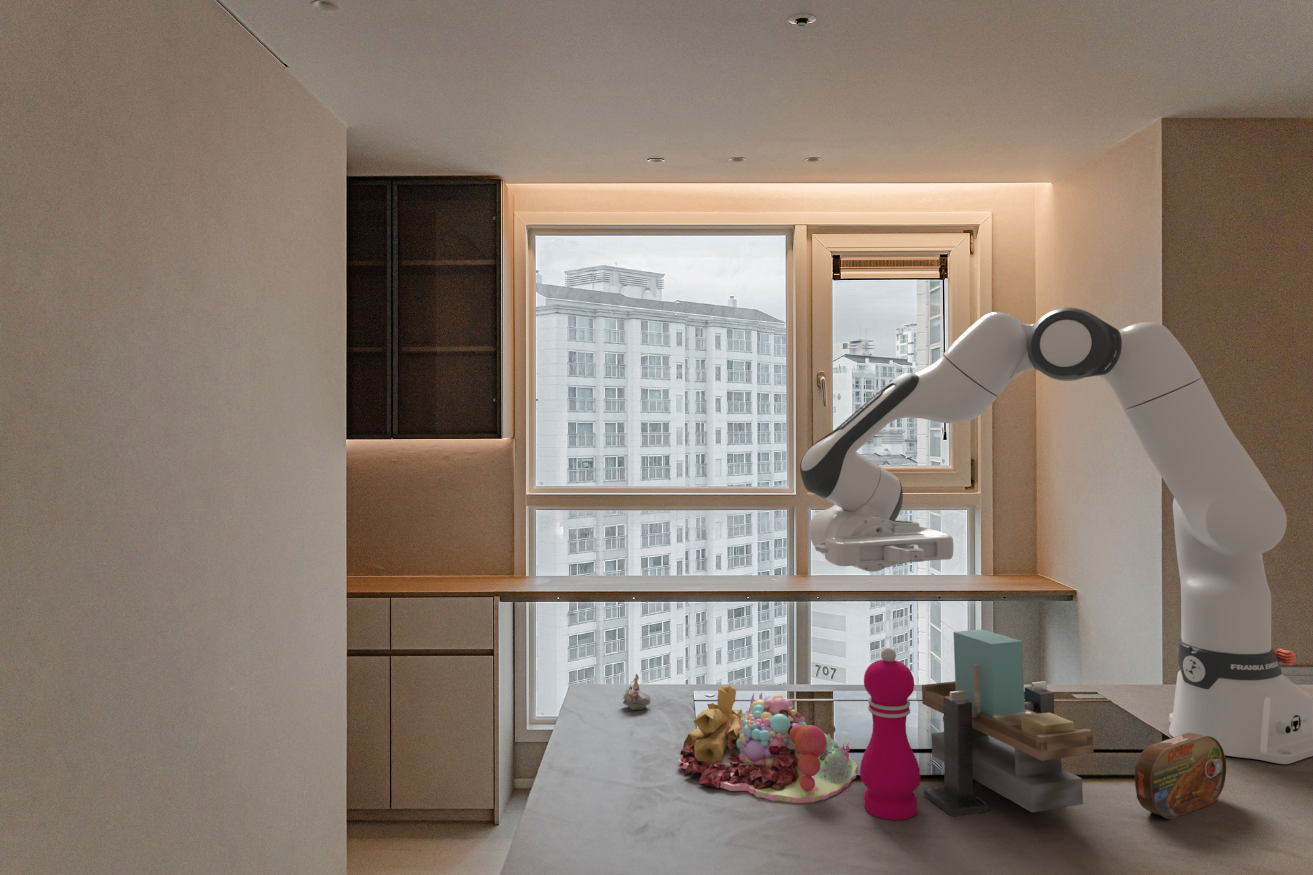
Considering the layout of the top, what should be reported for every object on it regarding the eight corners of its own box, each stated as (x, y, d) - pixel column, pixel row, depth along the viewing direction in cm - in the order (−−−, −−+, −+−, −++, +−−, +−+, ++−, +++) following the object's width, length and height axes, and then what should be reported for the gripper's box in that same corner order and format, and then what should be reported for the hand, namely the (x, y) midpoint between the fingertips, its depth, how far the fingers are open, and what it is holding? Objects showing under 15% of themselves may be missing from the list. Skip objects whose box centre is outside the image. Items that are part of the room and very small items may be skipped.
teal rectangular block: (985, 704, 116) (982, 629, 116) (1025, 721, 108) (1022, 641, 108) (956, 707, 115) (953, 631, 115) (994, 725, 107) (991, 644, 107)
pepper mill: (923, 824, 103) (921, 657, 102) (861, 820, 104) (859, 654, 104) (917, 798, 110) (916, 641, 109) (859, 794, 111) (857, 639, 111)
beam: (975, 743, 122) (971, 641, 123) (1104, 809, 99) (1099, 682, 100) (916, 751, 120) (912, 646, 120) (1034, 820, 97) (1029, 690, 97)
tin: (1154, 826, 102) (1154, 755, 101) (1129, 816, 104) (1128, 746, 104) (1229, 798, 108) (1229, 732, 108) (1203, 789, 111) (1203, 724, 111)
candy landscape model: (655, 786, 116) (653, 717, 116) (707, 726, 138) (706, 669, 138) (844, 813, 107) (843, 739, 107) (868, 745, 129) (867, 683, 129)
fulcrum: (1043, 777, 115) (1042, 673, 115) (1076, 796, 110) (1075, 686, 109) (924, 795, 111) (922, 686, 110) (951, 816, 105) (950, 701, 105)
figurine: (654, 706, 147) (654, 672, 147) (645, 714, 143) (644, 680, 143) (627, 703, 149) (626, 670, 149) (617, 711, 145) (616, 677, 145)
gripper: (810, 527, 138) (852, 538, 125) (923, 520, 144) (975, 531, 130) (810, 566, 139) (852, 582, 125) (923, 558, 144) (975, 573, 131)
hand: (916, 556), depth 128 cm, fingers closed
